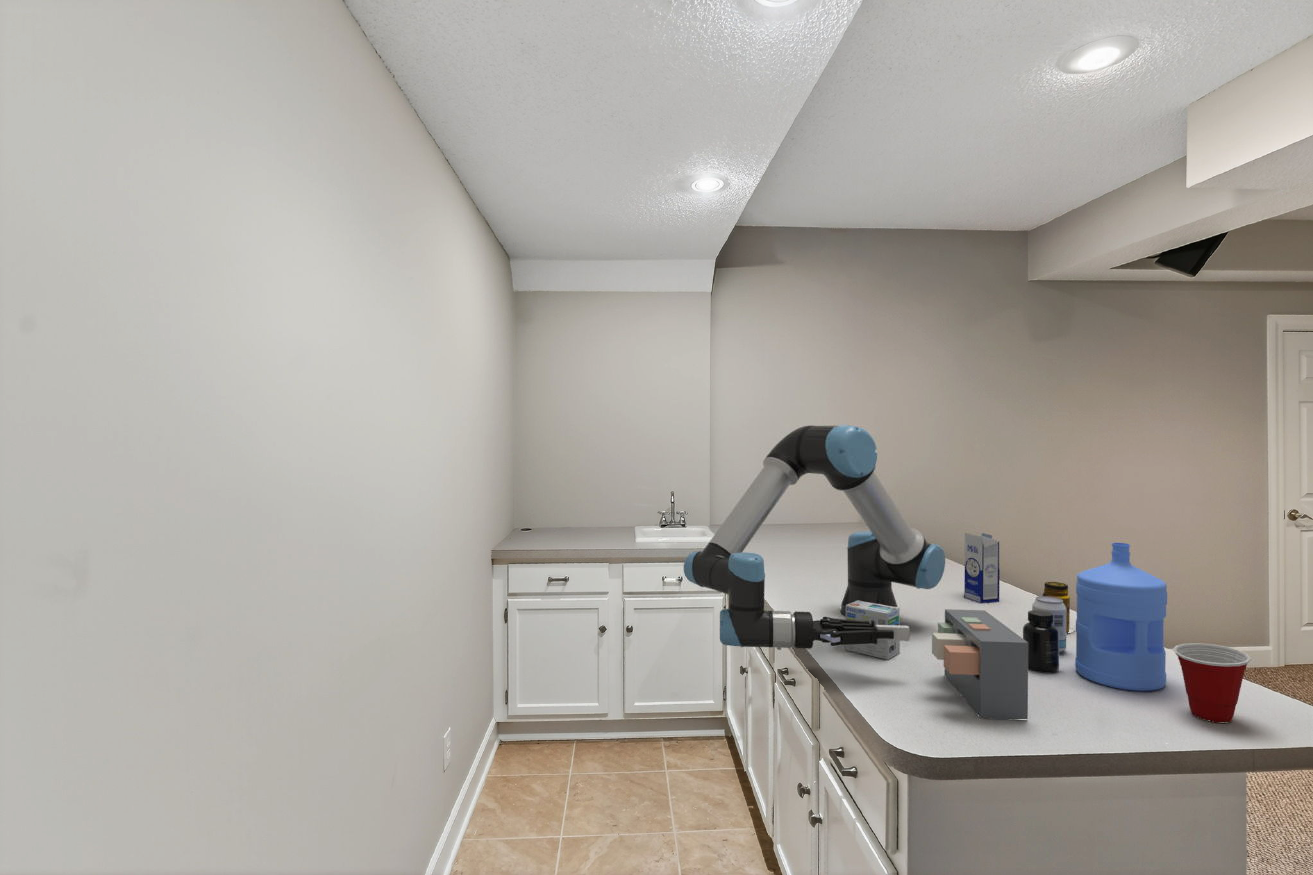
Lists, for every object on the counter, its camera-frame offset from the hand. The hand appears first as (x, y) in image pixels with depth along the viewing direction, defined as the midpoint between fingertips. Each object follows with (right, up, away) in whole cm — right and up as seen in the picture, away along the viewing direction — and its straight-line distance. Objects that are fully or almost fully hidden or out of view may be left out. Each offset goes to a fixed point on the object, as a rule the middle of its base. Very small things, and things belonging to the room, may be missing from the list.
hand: (908, 633), depth 141 cm
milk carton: (+45, -8, +63) cm, 78 cm away
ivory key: (+6, -2, -8) cm, 10 cm away
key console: (+11, -10, -9) cm, 17 cm away
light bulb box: (-2, -9, +17) cm, 20 cm away
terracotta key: (+5, -2, -16) cm, 17 cm away
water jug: (+44, -10, +1) cm, 45 cm away
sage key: (+10, -2, -1) cm, 10 cm away
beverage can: (+39, -9, +18) cm, 44 cm away
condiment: (+49, -9, +33) cm, 60 cm away
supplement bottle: (+31, -10, +7) cm, 33 cm away
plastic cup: (+48, -10, -18) cm, 52 cm away
